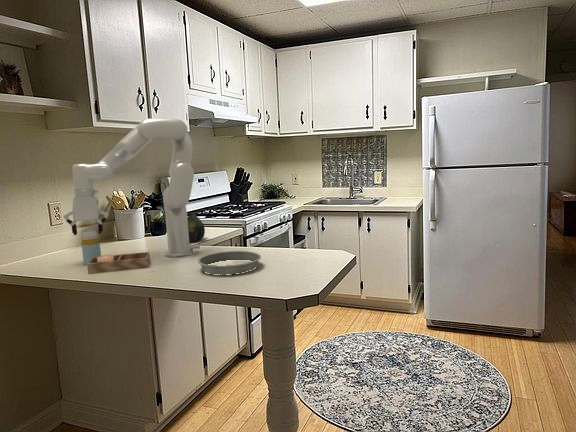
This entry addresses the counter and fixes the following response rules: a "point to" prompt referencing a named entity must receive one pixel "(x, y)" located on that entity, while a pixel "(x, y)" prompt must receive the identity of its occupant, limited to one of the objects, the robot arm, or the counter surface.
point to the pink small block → (105, 258)
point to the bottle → (90, 245)
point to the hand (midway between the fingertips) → (88, 234)
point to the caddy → (120, 263)
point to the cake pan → (229, 256)
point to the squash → (195, 228)
